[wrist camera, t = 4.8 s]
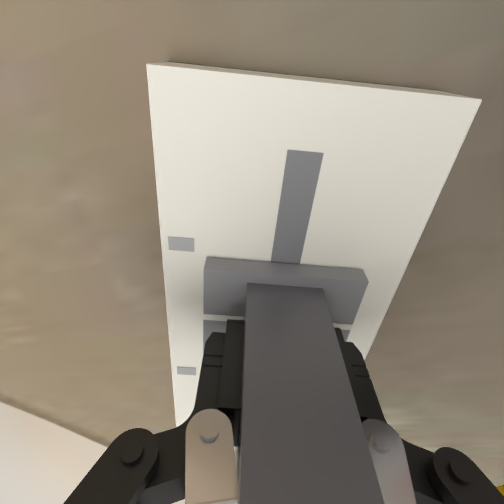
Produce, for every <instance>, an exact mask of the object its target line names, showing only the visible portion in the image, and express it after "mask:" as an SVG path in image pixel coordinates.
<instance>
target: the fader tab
mask: <svg viewBox="0 0 504 504" xmlns="http://www.w3.org/2000/svg"><path fill="white" fill-rule="evenodd" d="M368 283H369V281H368V279H367V277H366V275H365V273H364V271H363V270H362V269H349V268H337V267H324V266H312V265H299V264H287V263H274V262H262V261H249V260H237V259H224V258H212V257H206V261H205V265H204V295H203V353H204V347H205V342H206V340H207V339H208V338H209V336H210V335H211V333H212V332H223V333H226V325H227V319H233V320H244V348H243V373H242V398H241V413H240V421H239V429H238V436H237V444H236V447H235V458H236V467H237V475H238V504H385V503H384V499H383V496H382V492H381V489H380V485H379V482H378V478H377V475H376V471H375V468H374V464H373V461H372V457H371V454H370V450H369V447H368V443H367V440H366V436H365V433H364V429H363V426H362V422H361V419H360V416H359V412H358V409H357V405H356V402H355V398H354V395H353V391H352V388H351V384H350V381H349V377H348V374H347V370H346V367H345V363H344V360H343V356H342V353H341V349H340V346H339V342H338V339H337V336H336V332H335V329H334V327H337V328H340V329H341V331H342V334H343V337H344V341H345V342H346V341H347V338H348V335H349V333H350V330H351V329H352V327H353V322H354V320H355V317H356V314H357V312H358V309H359V307H360V304H361V301H362V299H363V296H364V293H365V291H366V288H367V286H368Z"/></svg>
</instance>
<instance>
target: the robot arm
mask: <svg viewBox="0 0 504 504" xmlns="http://www.w3.org/2000/svg"><path fill="white" fill-rule="evenodd" d="M334 329H335V332H336V336H337V339H338V342H339V346H340V349H341V353H342V356H343V360H344V363H345V367H346V370H347V374H348V377H349V381H350V384H351V388H352V391H353V395H354V398H355V402H356V405H357V409H358V412H359V416H360V419H361V422H362V426H363V429H364V433H365V436H366V440H367V443H368V447H369V450H370V454H371V457H372V461H373V464H374V468H375V471H376V475H377V478H378V482H379V485H380V489H381V492H382V496H383V499H384V503H385V504H504V496H503V495H502V494H501V493H500V491H499V490H498V489H497V488H496V487H495V486H494V485H493V484H492V482H491V481H490V480H489V479H488V478H487V477H486V476H485V475H484V473H483V472H482V471H481V470H480V469H479V468H478V467H477V466H476V464H475V463H474V462H473V461H472V460H471V459H470V458H468V457H467V456H466V455H465V454H463V453H462V452H460V451H458V450H456V449H453V448H450V447H442V448H439V449H438V450H437V451H436V452H435V453H433V452H431V451H428V450H426V449H423V448H421V447H418V446H416V445H413V444H411V443H408V442H406V441H405V440H403V439H402V438H400V436H399V434H398V433H397V432H396V431H395V430H394V429H393V428H392V427H391V426H390V425H389V424H387V422H386V420H385V418H384V415H383V413H382V410H381V407H380V404H379V401H378V398H377V396H376V393H375V390H374V387H373V384H372V381H371V379H370V378H369V373H368V370H367V368H366V364H365V362H364V359H363V356H362V353H361V352H360V351H359V350H358V348H357V347H356V346H355V345H354V343H353V342H345V341H344V337H343V334H342V331H341V329H340V328H337V327H334ZM243 348H244V320H233V319H227V325H226V333H223V332H212V333H211V335H210V336H209V338H208V339H207V340H206V342H205V347H204V353H203V359H202V365H201V370H200V376H199V382H198V388H197V394H196V400H195V405H194V409H193V411H192V413H191V415H190V416H189V418H188V419H187V420H186V421H185V422H184V423H183V424H181V425H180V426H178V427H176V428H174V429H171V430H167V431H164V432H161V433H157V434H154V435H153V434H152V433H151V432H150V431H148V430H146V429H142V428H135V429H130V430H128V431H126V432H124V433H122V434H121V435H119V436H118V437H117V438H116V439H115V440H114V441H113V442H112V443H111V445H110V446H109V447H108V448H107V450H106V451H105V452H104V453H103V455H102V456H101V457H100V458H99V460H98V461H97V462H96V464H95V465H94V466H93V467H92V469H91V470H90V471H89V472H88V474H87V475H86V476H85V477H84V479H83V480H82V481H81V482H80V484H79V485H78V486H77V487H76V489H75V490H74V491H73V492H72V494H71V495H70V496H69V497H68V499H67V500H66V501H65V502H64V504H171V503H174V502H177V501H180V500H183V499H185V504H238V475H237V467H236V458H235V449H234V447H236V444H237V436H238V429H239V421H240V413H241V398H242V373H243Z"/></svg>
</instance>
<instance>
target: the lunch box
mask: <svg viewBox="0 0 504 504" xmlns="http://www.w3.org/2000/svg"><path fill="white" fill-rule="evenodd" d="M497 489H498V490H499V491H500V493H501V494H502V495H503V496H504V486H499V487H497Z"/></svg>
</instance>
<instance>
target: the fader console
mask: <svg viewBox="0 0 504 504" xmlns="http://www.w3.org/2000/svg"><path fill="white" fill-rule="evenodd" d="M146 65H147V78H148V90H149V102H150V114H151V126H152V138H153V150H154V162H155V175H156V187H157V199H158V211H159V223H160V235H161V247H162V259H163V272H164V284H165V296H166V308H167V320H168V332H169V344H170V356H171V369H172V381H173V393H174V405H175V417H176V427H178V426H180V425H181V424H183V423H184V422H185V421H186V420H187V419H188V418H189V416H190V415H191V413H192V411H193V409H194V405H195V400H196V394H197V388H198V382H199V376H200V370H201V365H202V359H203V295H204V265H205V261H206V257H212V258H224V259H237V260H249V261H262V262H274V263H287V264H299V265H312V266H324V267H337V268H349V269H362V270H363V271H364V273H365V275H366V277H367V279H368V281H369V283H368V286H367V288H366V291H365V293H364V296H363V299H362V301H361V304H360V307H359V309H358V312H357V314H356V317H355V320H354V322H353V327H352V329H351V330H350V333H349V335H348V338H347V341H346V342H353V343H354V345H355V346H356V347H357V348H358V350H359V351H360V352H361V353H362V356H363V359H364V360H365V358H366V356H367V354H368V352H369V349H370V347H371V345H372V343H373V341H374V338H375V336H376V334H377V332H378V329H379V327H380V325H381V323H382V321H383V318H384V316H385V314H386V312H387V310H388V307H389V305H390V303H391V301H392V299H393V296H394V294H395V292H396V290H397V287H398V285H399V283H400V281H401V279H402V276H403V274H404V272H405V270H406V268H407V265H408V263H409V261H410V259H411V256H412V254H413V252H414V250H415V248H416V245H417V243H418V241H419V239H420V237H421V234H422V232H423V230H424V228H425V225H426V223H427V221H428V219H429V217H430V214H431V212H432V210H433V208H434V206H435V203H436V201H437V199H438V197H439V194H440V192H441V190H442V188H443V186H444V183H445V181H446V179H447V177H448V175H449V172H450V170H451V168H452V166H453V163H454V161H455V159H456V157H457V155H458V152H459V150H460V148H461V146H462V144H463V141H464V139H465V137H466V135H467V132H468V130H469V128H470V126H471V124H472V121H473V119H474V117H475V115H476V113H477V110H478V108H479V106H480V104H481V101H482V99H478V98H473V97H468V96H463V95H458V94H453V93H448V92H444V91H437V90H428V89H418V88H409V87H400V86H390V85H381V84H371V83H362V82H352V81H343V80H334V79H324V78H315V77H305V76H296V75H287V74H277V73H268V72H258V71H249V70H240V69H230V68H221V67H211V66H202V65H193V64H183V63H174V62H161V63H151V64H146ZM234 449H235V447H234Z"/></svg>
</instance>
